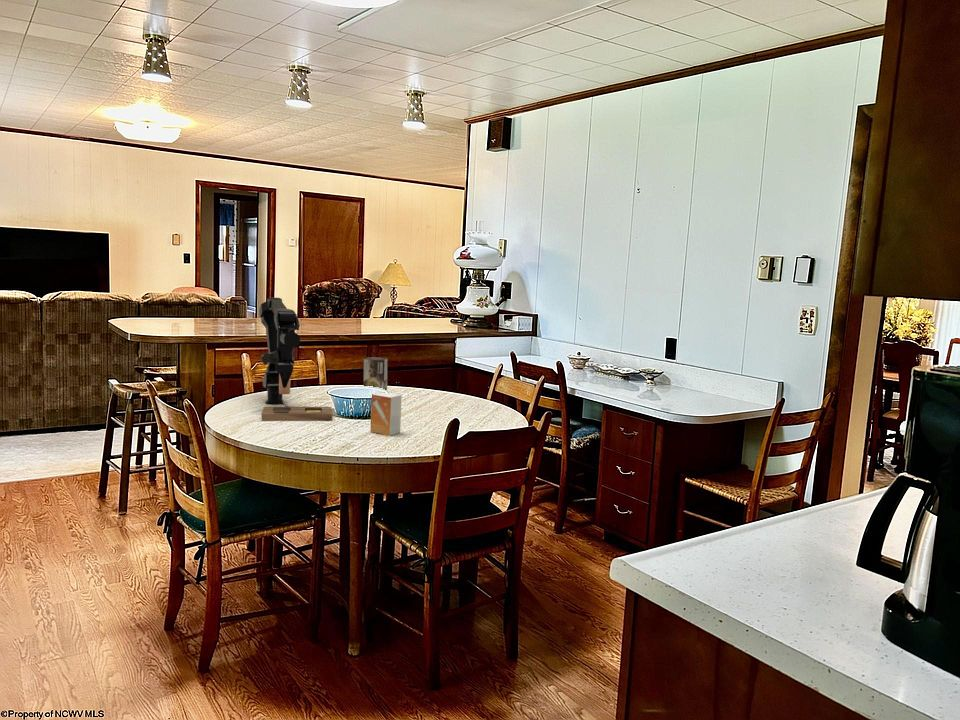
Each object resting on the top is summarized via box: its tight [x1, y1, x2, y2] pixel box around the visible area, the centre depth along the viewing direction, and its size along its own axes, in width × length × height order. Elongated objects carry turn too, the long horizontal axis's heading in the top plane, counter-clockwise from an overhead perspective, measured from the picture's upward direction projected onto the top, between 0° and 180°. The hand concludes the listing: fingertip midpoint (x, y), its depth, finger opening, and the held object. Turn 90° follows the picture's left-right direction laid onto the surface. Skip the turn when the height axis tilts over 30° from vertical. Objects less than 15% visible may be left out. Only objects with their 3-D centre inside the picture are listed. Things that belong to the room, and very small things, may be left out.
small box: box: [370, 392, 403, 437], centre depth 247 cm, size 8×6×13 cm
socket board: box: [261, 406, 333, 422], centre depth 264 cm, size 12×24×3 cm, turn 103°
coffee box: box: [363, 356, 389, 391], centre depth 310 cm, size 9×6×16 cm
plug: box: [279, 374, 291, 395], centre depth 272 cm, size 4×4×8 cm
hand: (284, 386), depth 272 cm, fingers closed on plug, 4 cm apart
